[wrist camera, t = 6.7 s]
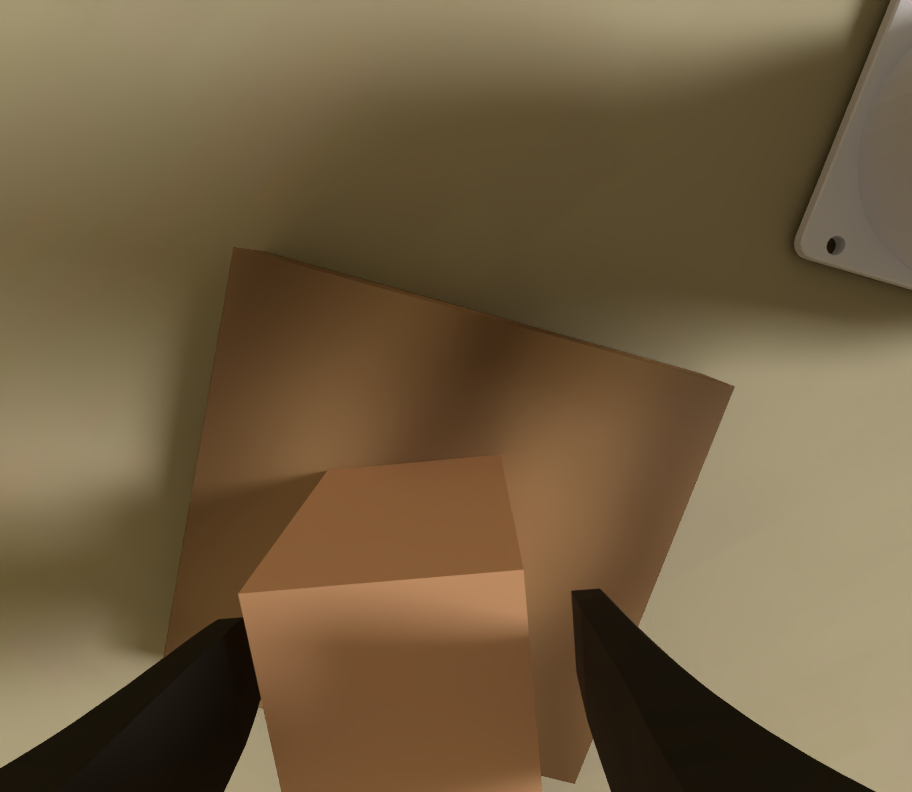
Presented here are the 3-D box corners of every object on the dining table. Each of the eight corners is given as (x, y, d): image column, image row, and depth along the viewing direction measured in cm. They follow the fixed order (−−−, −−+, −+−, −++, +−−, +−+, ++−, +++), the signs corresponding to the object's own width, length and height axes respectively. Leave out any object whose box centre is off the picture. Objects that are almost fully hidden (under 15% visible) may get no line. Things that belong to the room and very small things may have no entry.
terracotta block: (500, 454, 15) (523, 570, 9) (514, 609, 16) (542, 803, 10) (327, 470, 15) (238, 593, 9) (353, 622, 16) (287, 820, 10)
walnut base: (702, 373, 16) (734, 386, 14) (563, 732, 19) (574, 783, 17) (262, 251, 15) (233, 247, 14) (191, 640, 18) (159, 683, 17)
